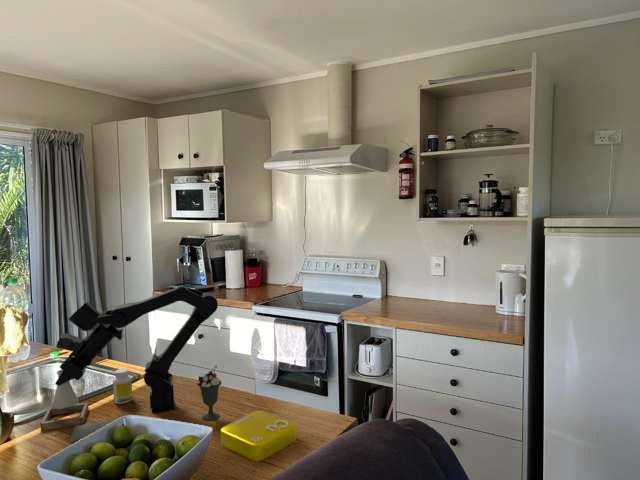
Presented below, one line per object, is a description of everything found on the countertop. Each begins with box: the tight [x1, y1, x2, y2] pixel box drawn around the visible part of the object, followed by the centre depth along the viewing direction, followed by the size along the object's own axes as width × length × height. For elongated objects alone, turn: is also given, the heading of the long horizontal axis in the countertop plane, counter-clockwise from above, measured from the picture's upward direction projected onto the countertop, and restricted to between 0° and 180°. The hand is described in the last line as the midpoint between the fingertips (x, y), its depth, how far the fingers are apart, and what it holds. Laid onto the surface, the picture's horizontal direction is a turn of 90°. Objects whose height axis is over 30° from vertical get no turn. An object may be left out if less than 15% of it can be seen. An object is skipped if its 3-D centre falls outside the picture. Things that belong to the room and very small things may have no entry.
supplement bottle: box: [112, 368, 133, 405], centre depth 150 cm, size 5×5×10 cm
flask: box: [51, 369, 80, 409], centre depth 138 cm, size 7×7×10 cm
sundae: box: [197, 365, 222, 422], centre depth 137 cm, size 7×7×15 cm
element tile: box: [220, 409, 297, 462], centre depth 124 cm, size 15×15×5 cm
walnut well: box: [40, 402, 89, 431], centre depth 138 cm, size 11×11×2 cm
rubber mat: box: [69, 420, 111, 443], centre depth 130 cm, size 9×9×1 cm
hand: (58, 382), depth 137 cm, fingers closed on flask, 3 cm apart
